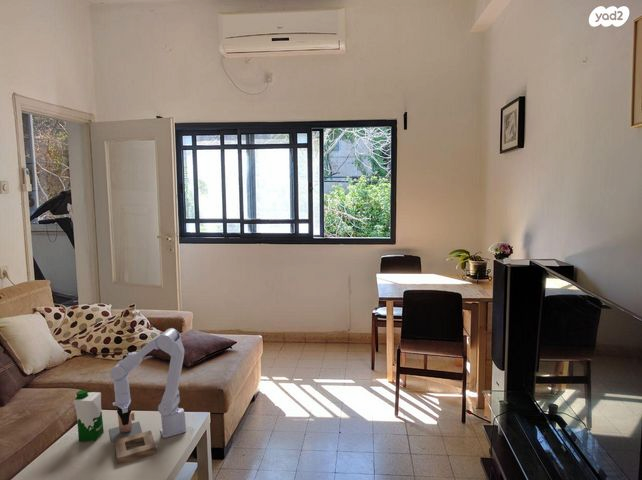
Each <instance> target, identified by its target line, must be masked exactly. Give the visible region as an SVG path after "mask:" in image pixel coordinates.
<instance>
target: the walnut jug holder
mask: <svg viewBox="0 0 642 480" xmlns="http://www.w3.org/2000/svg"><path fill="white" fill-rule="evenodd" d="M114 442H115V443H114V447H115V455H116V460H117V465H121V464H123V463H127V462H131V461H134V460H137V459H141V458H144V457H147V456H148V457H149V456H152V455H153V454H154V455H155V454H157V453H158V452H157V449H158V448H157V445H156V441H155V438H154V435H153V432H152V430H148V431H147V430H146V431H145V432H144V431H142V433H139V434H136V435H132V436H129V437H125V438H121V439H118V440H114ZM139 444H144V445H142V446H137V447H135V448H130V449H128V450H127V448H129V447H132V446H133V447H134V446H136V445H139Z"/></svg>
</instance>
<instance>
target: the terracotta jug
mask: <svg viewBox="0 0 642 480" xmlns="http://www.w3.org/2000/svg"><path fill="white" fill-rule="evenodd" d="M117 419H118V427H119V431H120V432H128V431H130V430H131V429H132V423H133V422H132V421H135V411H131V413H130V416H129V423H128V425H124V426H123V424H122V421H121V418H120V416H119V415H118V414H117Z"/></svg>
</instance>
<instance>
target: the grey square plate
mask: <svg viewBox="0 0 642 480" xmlns="http://www.w3.org/2000/svg"><path fill="white" fill-rule="evenodd" d="M139 433H143V430H142V426H141V424H140V421H135V422H132V429H131V430H130V431H128V432H120V431H119V426H117V427H112V428H109V435H110V436H109V437H110V441H111V444H115V442H114V440H118V439H121V438H125V437H129V436H132V435H136V434H139Z"/></svg>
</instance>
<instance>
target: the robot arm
mask: <svg viewBox="0 0 642 480" xmlns="http://www.w3.org/2000/svg"><path fill="white" fill-rule="evenodd" d="M153 350H161V351H163V352H165V353H166V354H167V355H169V356H170V361H169V367H168V372H167V378H166V384H165V390H164V393H163V395H162V397H161V402H159V404H158V407H157V411H158V412H159V414H160V417H161V428H160V429H159V431H160V433H161V436H162V438H163V439H165V438H170V437H173V436H177V435H179V434H182V433H186V432H187V427H186V426H187V424H186V415H185V410H184V408H183V407H179V403H180V401H181V397H180V390H179V386H180V385H179V384H180V381H181V376H182V375H181V374H182V368H183V364H184V358H185V354H186V353H185V351H186V350H185V348H184V345H183V341H182V335H181V333H180V332H179V331H178V330H177V329H175V328H173V327H171V328H166V330H165V331H162V332H161V333H159V334H158V335H156V336H154V338H152V339H151V340H150V341H149V342H147V343H146V344H145V345H144V346H143V347H141V348H140V349H138V351H132V352H129V353H127V354H126V355H125V357H124V358H123V359H120V360H119V361H118V363H117V364H116V365H115V366H113V367H112V368H111V369H110V372H109V375H110V377H111V379H113V388H114V389H113V390H114V398H115V401H114V402H112V406H113V407H116V409H117V410H116V413H117V416H118V415H119V416H120V418H121V421H122V424H123V426H124V425H128V423H129V416H130V413H131V412H133V409H132V407H129V406H130V404H131V402H132V399H131V394H130V393H131V391H130V383H129V373H130V372H131V371H132V370H134V369H135V368H136V367H138V366H139V365H140V364H141V363H142V361H143V358H144V357H145V356H146V355H147V354H150V352H152V351H153Z"/></svg>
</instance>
